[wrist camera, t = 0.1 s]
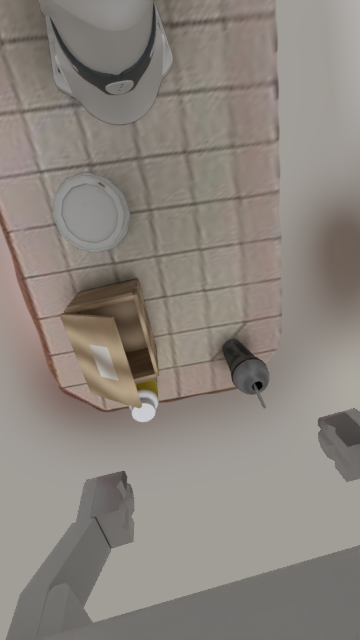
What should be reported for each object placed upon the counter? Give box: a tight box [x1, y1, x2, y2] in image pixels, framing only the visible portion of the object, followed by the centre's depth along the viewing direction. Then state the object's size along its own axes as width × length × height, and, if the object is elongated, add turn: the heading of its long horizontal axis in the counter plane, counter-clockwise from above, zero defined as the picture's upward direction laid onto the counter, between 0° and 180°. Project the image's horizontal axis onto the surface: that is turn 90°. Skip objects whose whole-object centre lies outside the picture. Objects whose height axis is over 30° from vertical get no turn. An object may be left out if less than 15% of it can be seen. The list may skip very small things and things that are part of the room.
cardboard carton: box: [64, 278, 159, 384], centre depth 54 cm, size 17×12×12 cm
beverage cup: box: [223, 339, 269, 408], centre depth 56 cm, size 7×7×20 cm
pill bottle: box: [129, 379, 158, 422], centre depth 60 cm, size 6×6×11 cm
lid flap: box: [60, 313, 142, 409], centre depth 44 cm, size 16×12×1 cm
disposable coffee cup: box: [52, 172, 131, 253], centre depth 44 cm, size 11×11×15 cm
